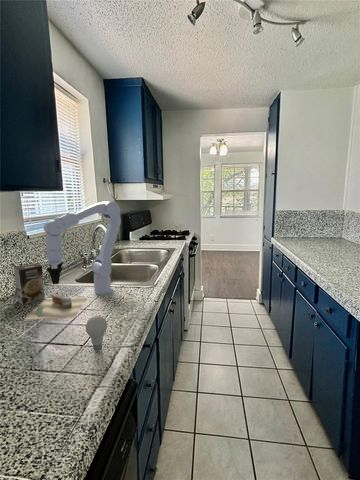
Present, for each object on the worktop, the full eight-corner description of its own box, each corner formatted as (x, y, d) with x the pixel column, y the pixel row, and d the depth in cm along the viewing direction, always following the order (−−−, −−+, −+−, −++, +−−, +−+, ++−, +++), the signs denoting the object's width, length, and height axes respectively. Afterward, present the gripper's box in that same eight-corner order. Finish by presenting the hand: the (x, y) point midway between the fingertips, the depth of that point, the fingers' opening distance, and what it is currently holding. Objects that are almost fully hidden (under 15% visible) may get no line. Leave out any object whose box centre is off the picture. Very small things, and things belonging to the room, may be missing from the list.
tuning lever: (73, 305, 105) (73, 298, 104) (65, 308, 101) (65, 301, 101) (56, 299, 110) (55, 293, 110) (48, 302, 107) (47, 296, 107)
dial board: (47, 300, 113) (46, 297, 113) (88, 298, 114) (88, 296, 114) (24, 321, 93) (23, 318, 93) (74, 320, 95) (74, 317, 95)
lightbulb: (100, 342, 81) (99, 310, 79) (112, 349, 77) (110, 316, 75) (83, 351, 76) (81, 317, 74) (94, 359, 72) (92, 324, 70)
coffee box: (23, 307, 105) (19, 270, 103) (17, 303, 109) (13, 267, 107) (45, 300, 113) (42, 265, 110) (38, 296, 116) (35, 262, 114)
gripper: (45, 246, 109) (47, 277, 111) (41, 253, 96) (44, 287, 98) (63, 246, 112) (64, 275, 114) (62, 252, 99) (63, 285, 101)
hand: (56, 281), depth 106 cm, fingers open, 7 cm apart
